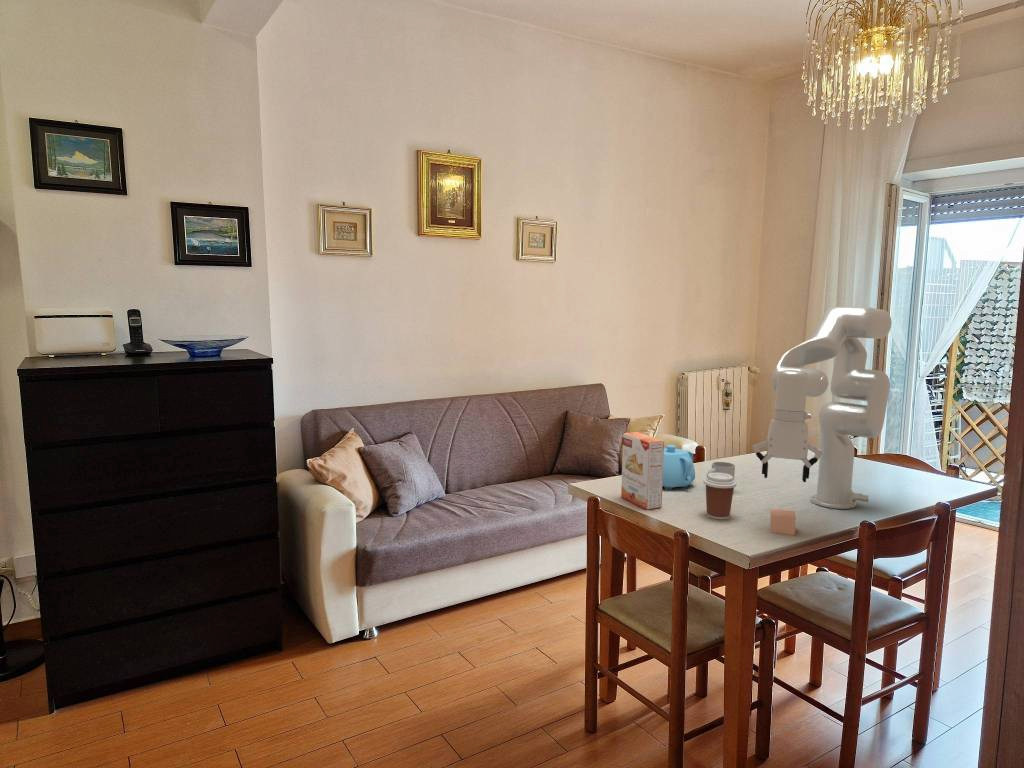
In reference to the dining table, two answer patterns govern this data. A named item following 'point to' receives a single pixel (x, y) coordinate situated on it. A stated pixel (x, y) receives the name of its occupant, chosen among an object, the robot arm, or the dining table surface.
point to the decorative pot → (677, 467)
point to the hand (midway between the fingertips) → (784, 478)
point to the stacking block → (782, 521)
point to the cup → (723, 468)
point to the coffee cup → (719, 495)
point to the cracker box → (642, 470)
